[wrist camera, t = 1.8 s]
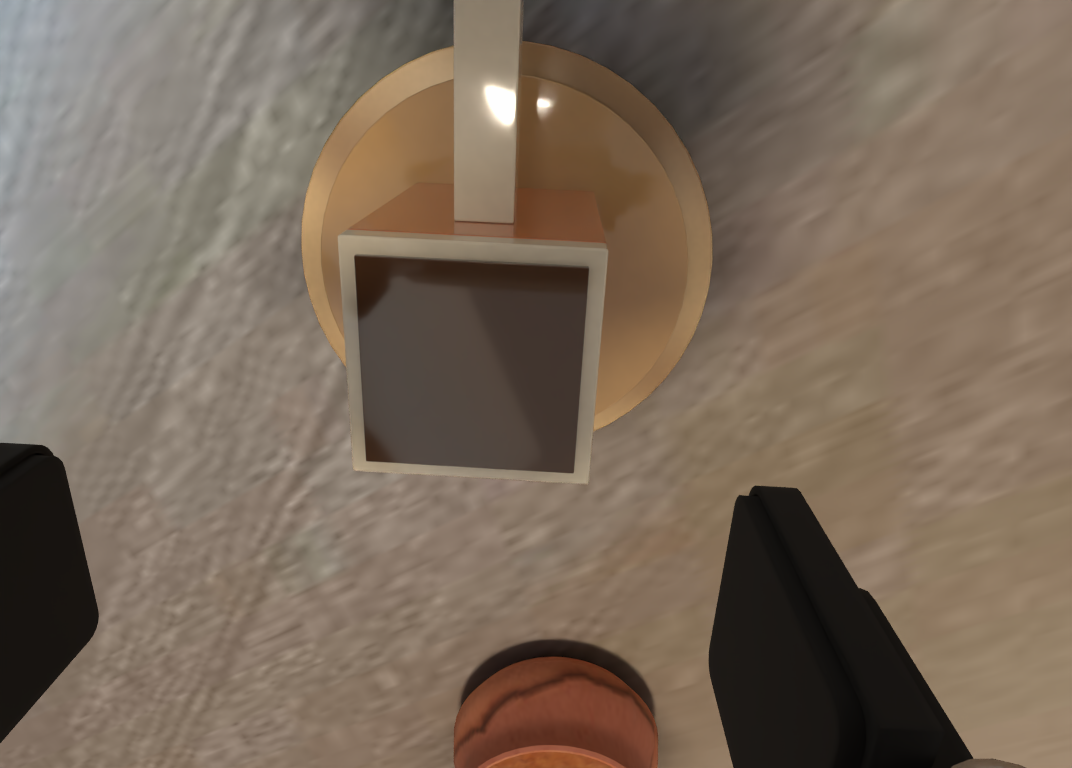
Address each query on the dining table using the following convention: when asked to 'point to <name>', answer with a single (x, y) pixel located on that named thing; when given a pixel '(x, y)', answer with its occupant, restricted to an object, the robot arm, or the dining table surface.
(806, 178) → the dining table surface
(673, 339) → the turntable base
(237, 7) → the dining table surface
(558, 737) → the potted flower
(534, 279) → the orange block with handle
